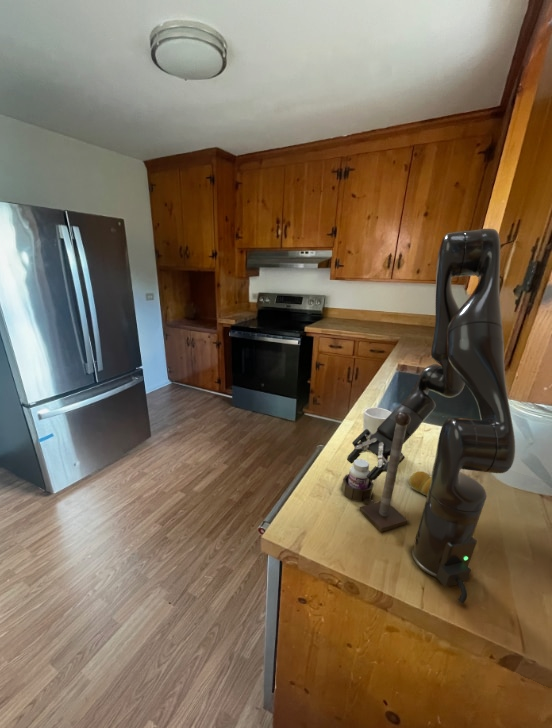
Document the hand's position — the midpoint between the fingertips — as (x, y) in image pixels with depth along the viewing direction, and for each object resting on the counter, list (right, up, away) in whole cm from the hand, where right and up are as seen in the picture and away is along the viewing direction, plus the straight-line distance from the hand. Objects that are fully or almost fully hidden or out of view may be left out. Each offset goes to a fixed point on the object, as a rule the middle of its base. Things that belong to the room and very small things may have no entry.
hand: (358, 470), depth 89 cm
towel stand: (+2, -9, -2) cm, 9 cm away
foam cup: (+13, +2, +26) cm, 30 cm away
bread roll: (+20, -6, +5) cm, 22 cm away
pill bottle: (0, -7, +3) cm, 8 cm away
